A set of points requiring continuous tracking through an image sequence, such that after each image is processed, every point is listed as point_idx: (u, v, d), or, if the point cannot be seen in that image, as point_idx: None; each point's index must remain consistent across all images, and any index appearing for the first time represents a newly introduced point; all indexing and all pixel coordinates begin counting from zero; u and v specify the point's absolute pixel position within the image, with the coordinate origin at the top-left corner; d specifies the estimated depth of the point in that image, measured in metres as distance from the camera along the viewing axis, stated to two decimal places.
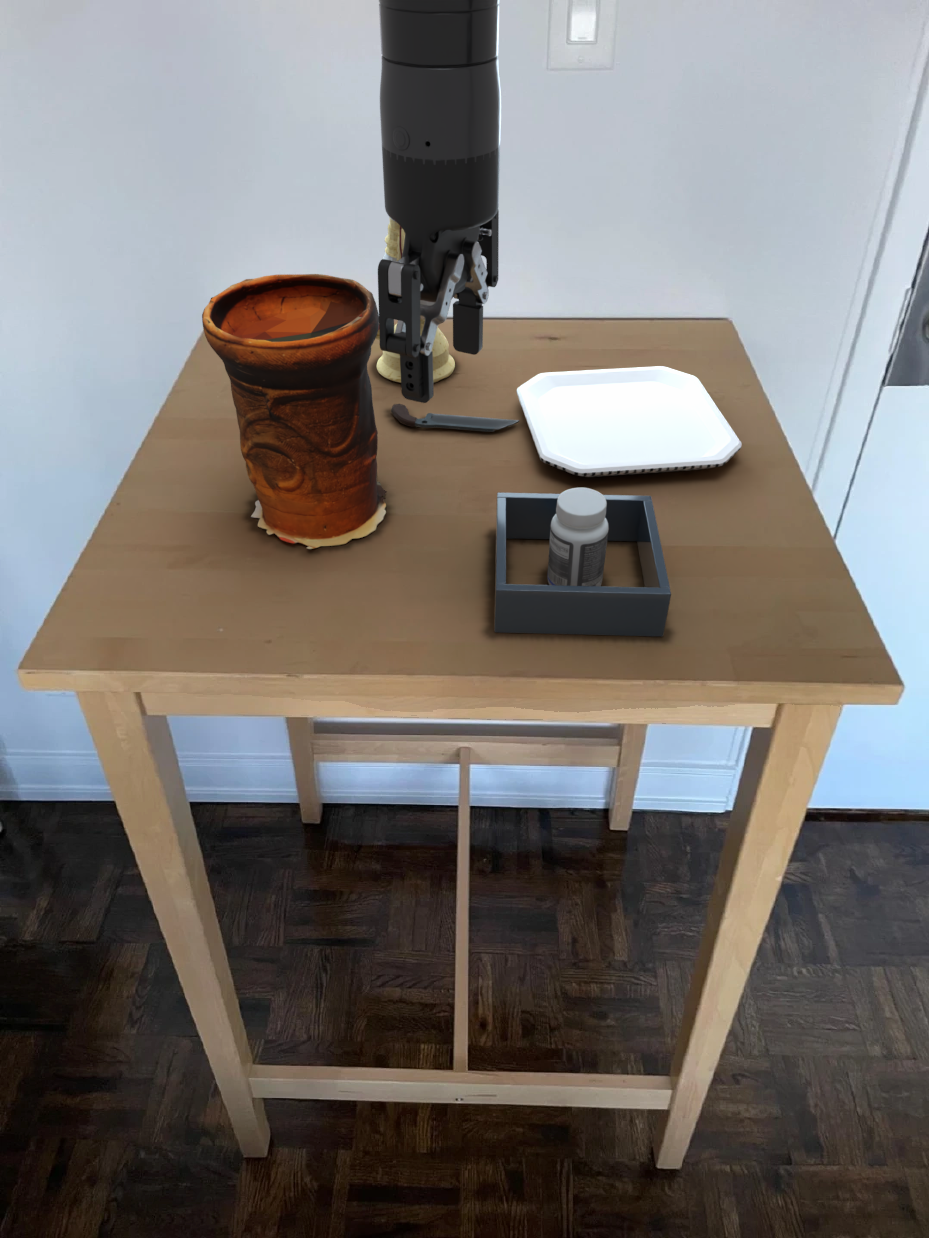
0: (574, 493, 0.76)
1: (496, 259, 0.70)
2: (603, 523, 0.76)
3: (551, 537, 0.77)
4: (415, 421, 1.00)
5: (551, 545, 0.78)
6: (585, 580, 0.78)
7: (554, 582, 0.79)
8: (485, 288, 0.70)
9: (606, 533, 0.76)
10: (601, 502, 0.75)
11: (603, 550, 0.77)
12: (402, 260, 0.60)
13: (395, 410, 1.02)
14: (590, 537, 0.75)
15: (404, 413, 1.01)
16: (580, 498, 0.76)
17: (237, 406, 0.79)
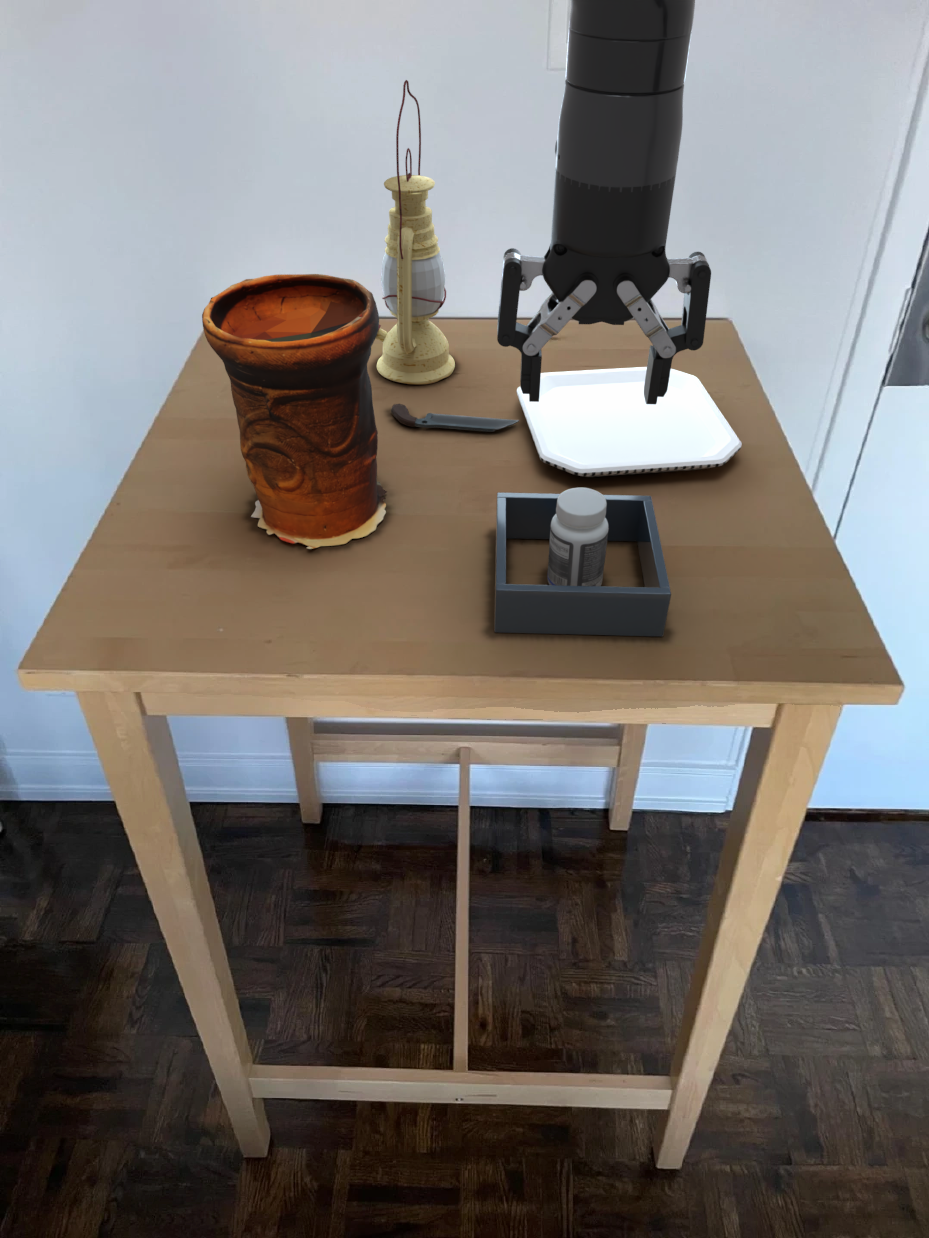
0: (574, 493, 0.76)
1: (700, 322, 0.64)
2: (603, 523, 0.76)
3: (551, 537, 0.77)
4: (415, 421, 1.00)
5: (551, 545, 0.78)
6: (585, 580, 0.78)
7: (554, 582, 0.79)
8: (668, 342, 0.65)
9: (606, 533, 0.76)
10: (601, 502, 0.75)
11: (603, 550, 0.77)
12: (525, 257, 0.63)
13: (395, 410, 1.02)
14: (590, 537, 0.75)
15: (404, 413, 1.01)
16: (580, 498, 0.76)
17: (237, 406, 0.79)
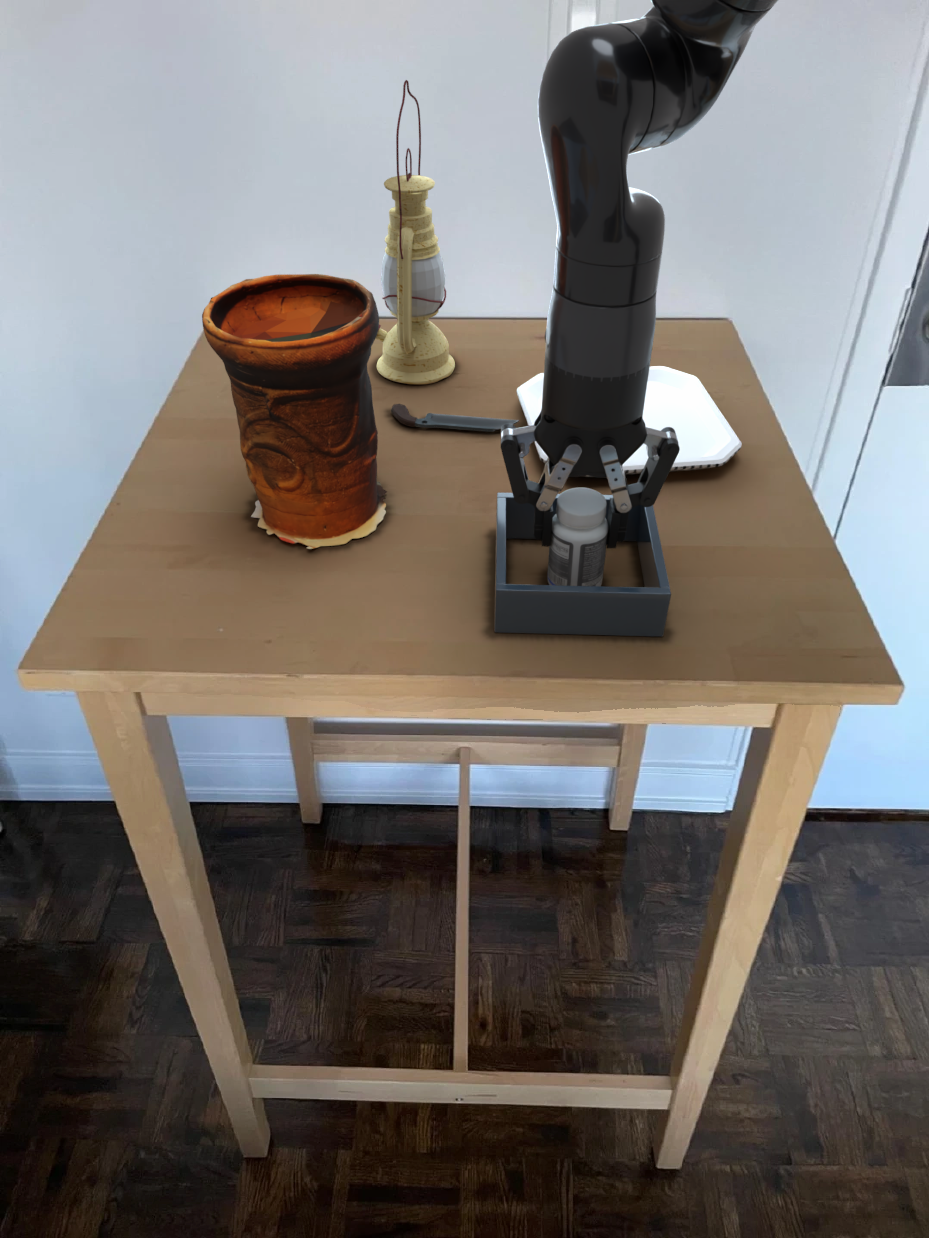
0: (573, 493, 0.76)
1: (657, 486, 0.73)
2: (603, 523, 0.76)
3: (551, 537, 0.77)
4: (415, 421, 1.00)
5: (551, 545, 0.78)
6: (585, 580, 0.78)
7: (554, 582, 0.79)
8: (624, 500, 0.74)
9: (606, 533, 0.76)
10: (601, 502, 0.75)
11: (603, 550, 0.77)
12: (518, 429, 0.72)
13: (395, 410, 1.02)
14: (590, 537, 0.75)
15: (404, 413, 1.01)
16: (580, 498, 0.76)
17: (237, 406, 0.79)
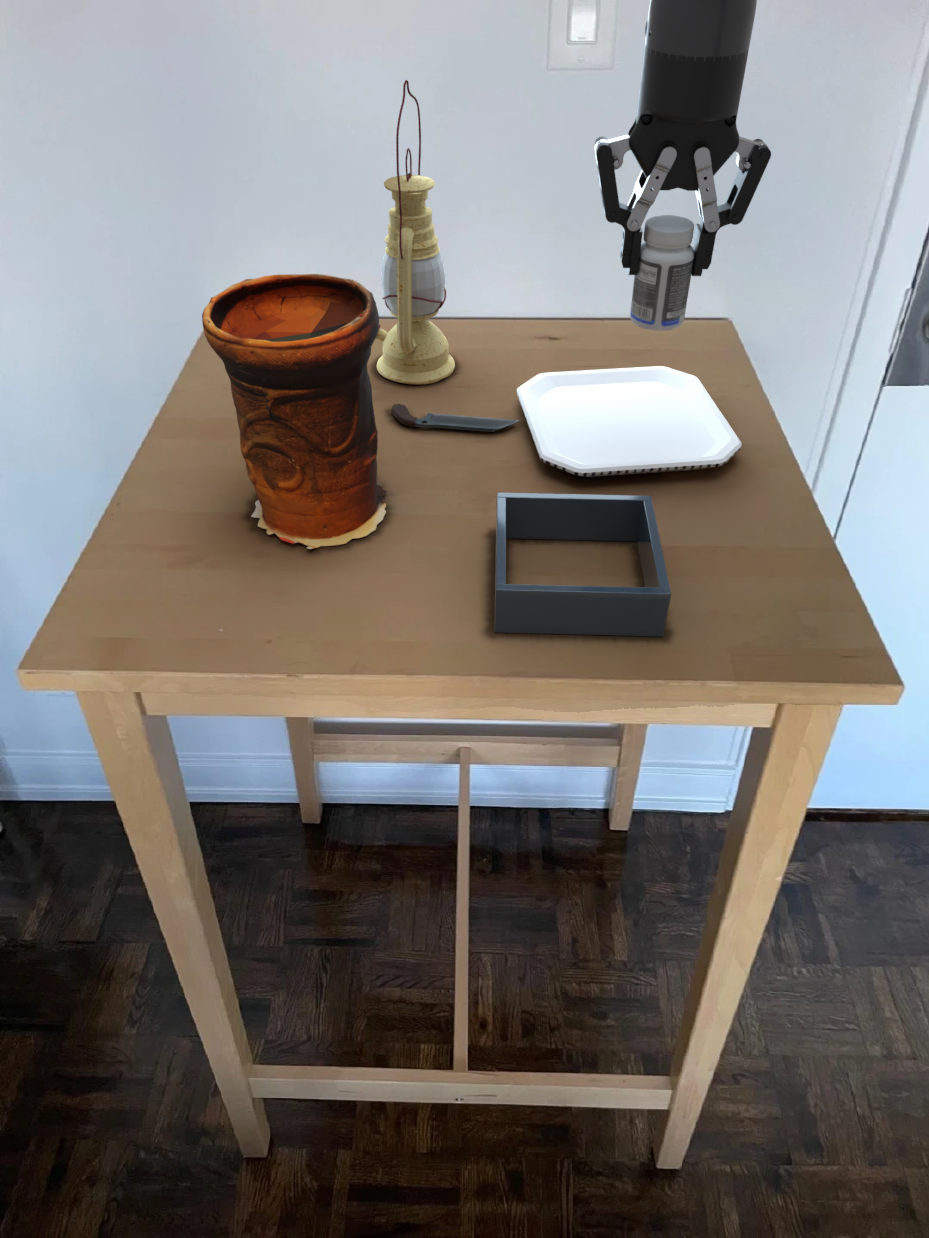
0: (661, 219, 0.78)
1: (746, 200, 0.75)
2: (690, 248, 0.78)
3: (638, 265, 0.79)
4: (415, 421, 1.00)
5: (638, 273, 0.79)
6: (670, 309, 0.80)
7: (638, 316, 0.81)
8: (713, 217, 0.76)
9: (692, 258, 0.78)
10: (689, 224, 0.77)
11: (689, 277, 0.79)
12: (612, 139, 0.74)
13: (395, 410, 1.02)
14: (678, 258, 0.77)
15: (404, 413, 1.01)
16: (668, 221, 0.78)
17: (237, 406, 0.79)
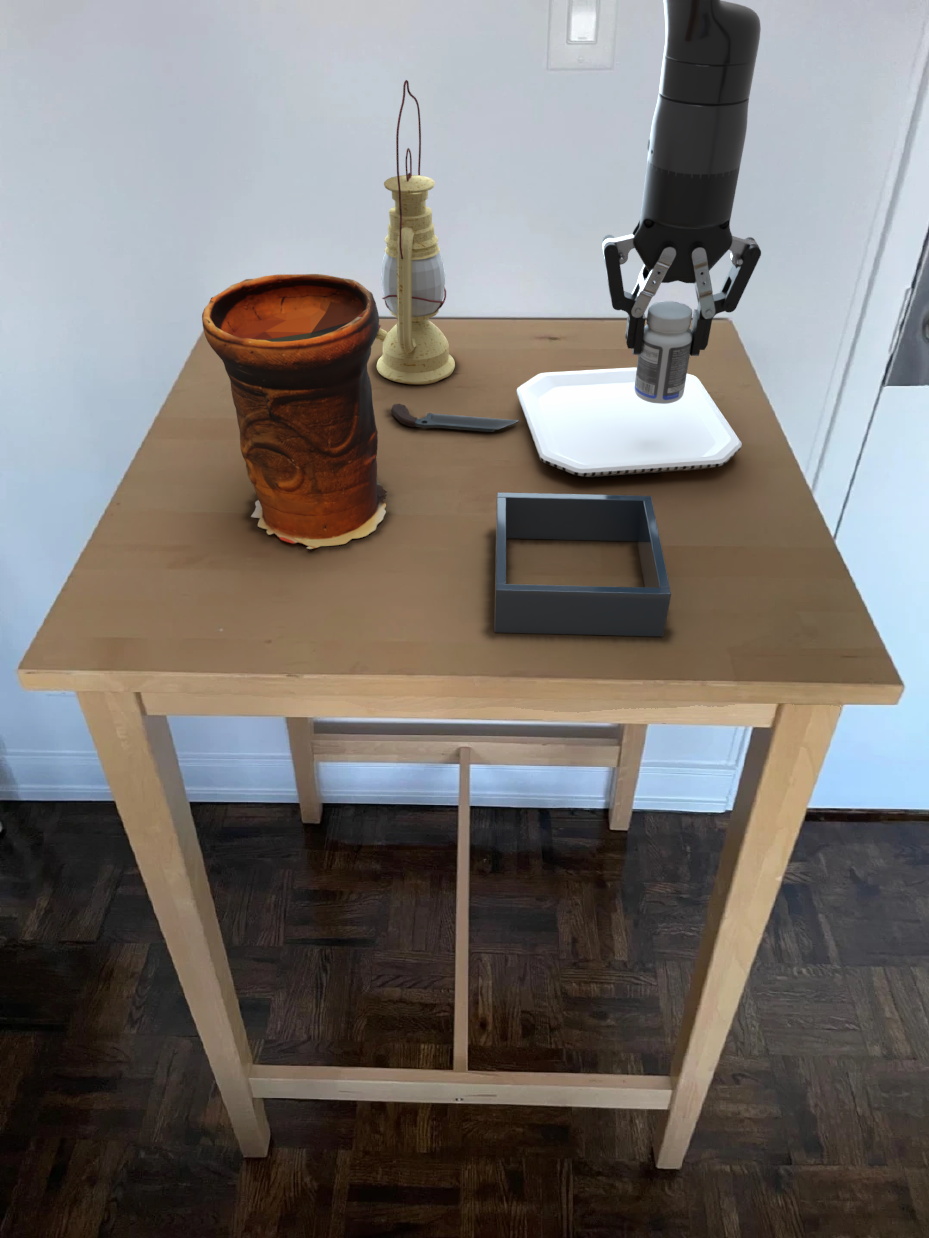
0: (662, 305, 0.86)
1: (739, 291, 0.83)
2: (688, 331, 0.86)
3: (642, 345, 0.87)
4: (415, 421, 1.00)
5: (641, 353, 0.88)
6: (671, 385, 0.88)
7: (642, 390, 0.89)
8: (709, 306, 0.84)
9: (691, 340, 0.86)
10: (687, 310, 0.85)
11: (687, 357, 0.87)
12: (618, 238, 0.82)
13: (395, 410, 1.02)
14: (677, 341, 0.85)
15: (404, 413, 1.01)
16: (668, 308, 0.86)
17: (237, 406, 0.79)
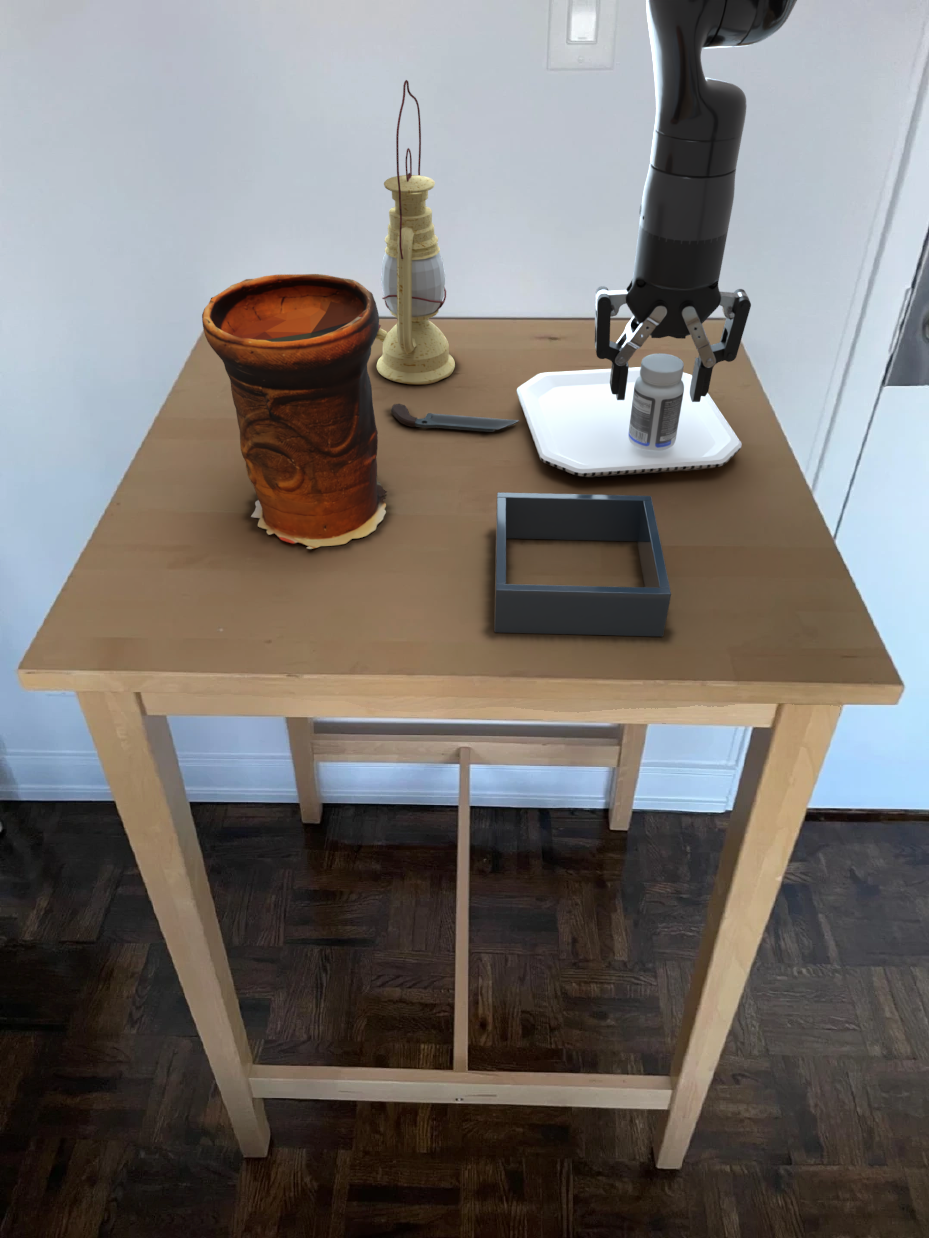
0: (655, 357, 0.90)
1: (736, 341, 0.86)
2: (680, 383, 0.90)
3: (635, 396, 0.91)
4: (415, 421, 1.00)
5: (635, 403, 0.91)
6: (663, 434, 0.91)
7: (635, 438, 0.93)
8: (710, 355, 0.87)
9: (682, 391, 0.90)
10: (679, 363, 0.89)
11: (679, 407, 0.91)
12: (612, 291, 0.85)
13: (395, 410, 1.02)
14: (669, 393, 0.89)
15: (404, 413, 1.01)
16: (661, 361, 0.89)
17: (237, 406, 0.79)
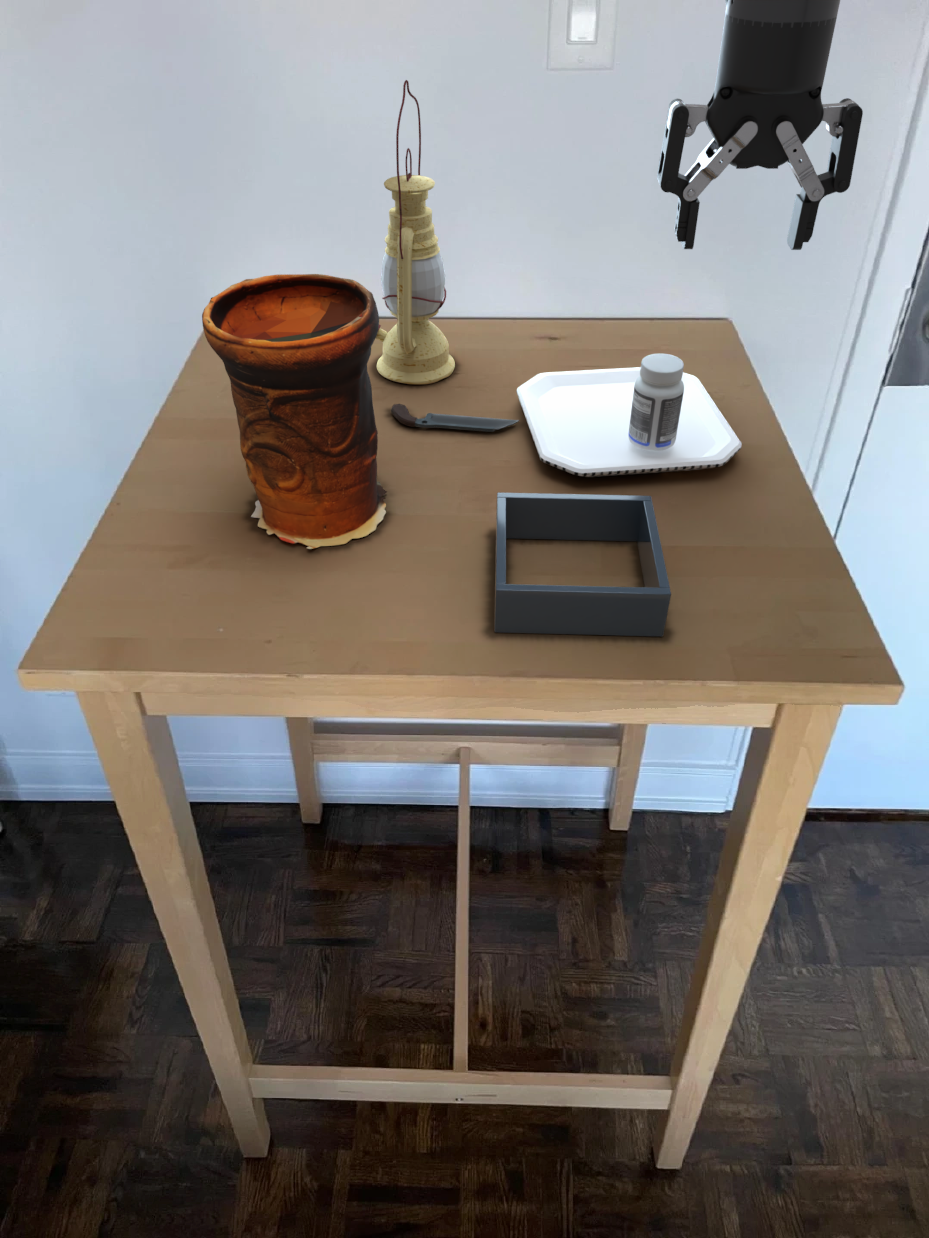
0: (655, 357, 0.90)
1: (848, 164, 0.70)
2: (680, 383, 0.90)
3: (635, 396, 0.91)
4: (415, 421, 1.00)
5: (635, 403, 0.91)
6: (663, 434, 0.91)
7: (635, 438, 0.93)
8: (817, 185, 0.71)
9: (682, 391, 0.90)
10: (679, 363, 0.89)
11: (679, 407, 0.91)
12: (691, 104, 0.70)
13: (395, 410, 1.02)
14: (669, 393, 0.89)
15: (404, 413, 1.01)
16: (661, 361, 0.89)
17: (237, 406, 0.79)
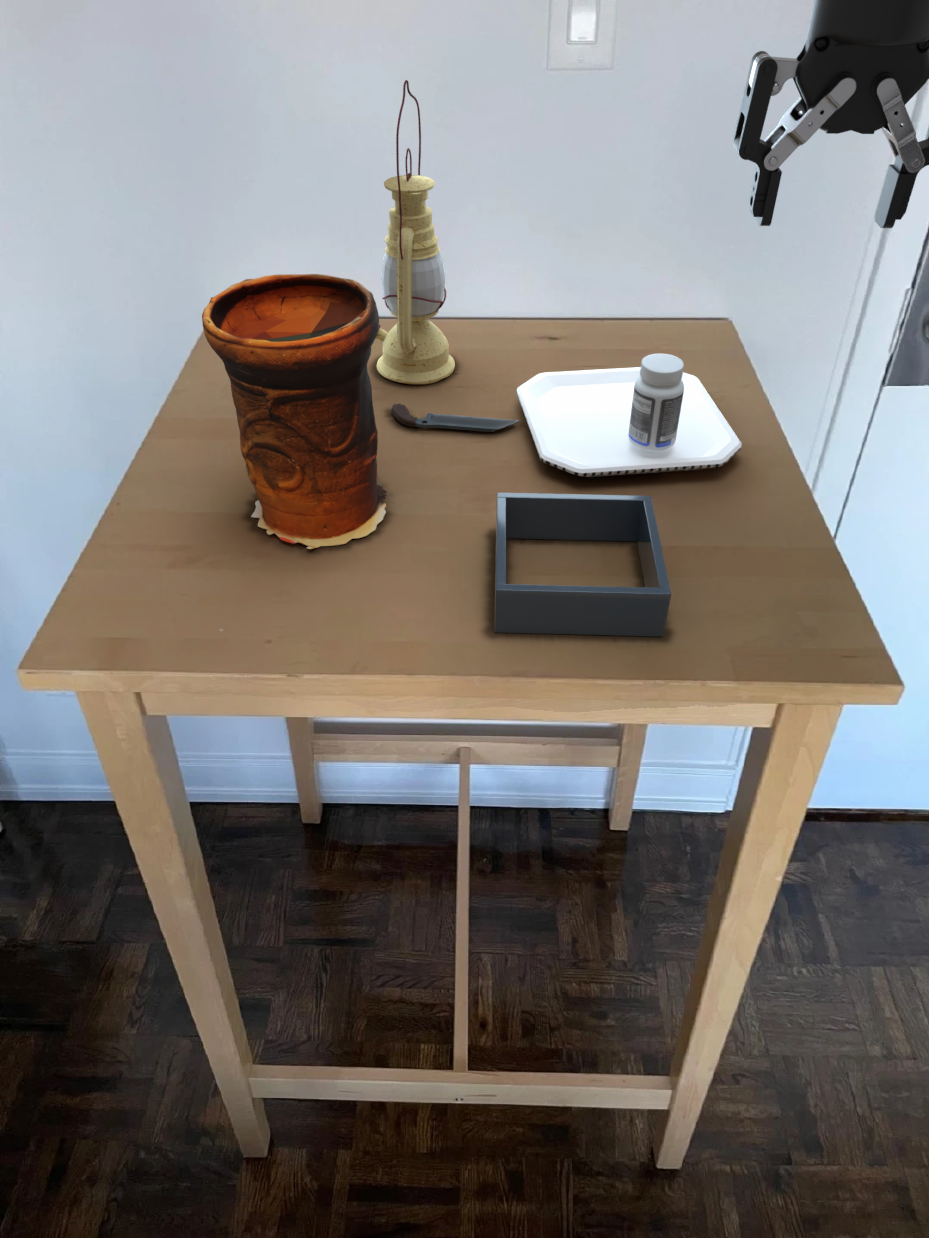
0: (655, 357, 0.90)
1: None
2: (680, 383, 0.90)
3: (635, 396, 0.91)
4: (415, 421, 1.00)
5: (635, 403, 0.91)
6: (663, 434, 0.91)
7: (635, 438, 0.93)
8: (917, 154, 0.63)
9: (682, 391, 0.90)
10: (679, 363, 0.89)
11: (679, 407, 0.91)
12: (778, 58, 0.60)
13: (395, 410, 1.02)
14: (669, 393, 0.89)
15: (404, 413, 1.01)
16: (661, 361, 0.89)
17: (237, 406, 0.79)
